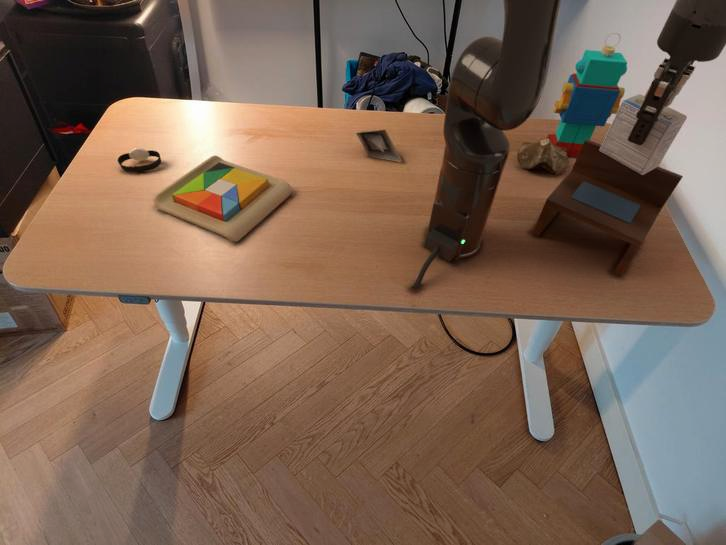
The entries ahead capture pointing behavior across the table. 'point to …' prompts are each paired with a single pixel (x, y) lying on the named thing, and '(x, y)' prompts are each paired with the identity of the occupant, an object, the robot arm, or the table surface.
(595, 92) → the toy robot
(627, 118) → the medicine box
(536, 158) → the fossilized seashell
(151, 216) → the table surface
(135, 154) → the watch
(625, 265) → the wooden toy chair
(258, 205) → the wooden puzzle
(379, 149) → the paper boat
